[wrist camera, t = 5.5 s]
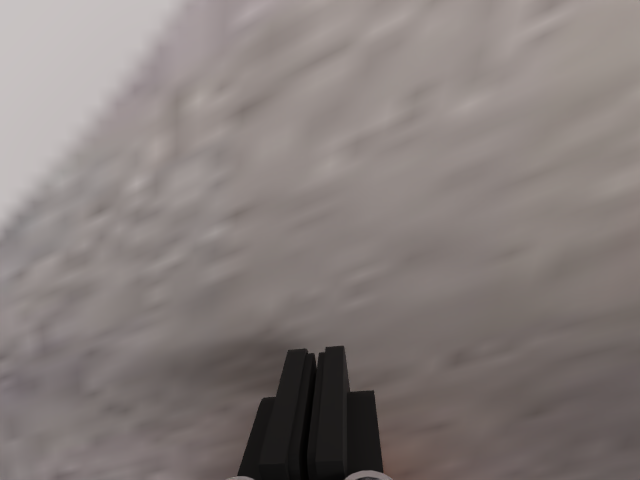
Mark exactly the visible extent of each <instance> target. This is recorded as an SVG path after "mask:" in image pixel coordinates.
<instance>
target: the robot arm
mask: <svg viewBox="0 0 640 480" xmlns="http://www.w3.org/2000/svg"><path fill="white" fill-rule="evenodd" d="M226 480H393V479H392V478H390V477H389V476H387V475H385V474H383V465H382V456H381V447H380V439H379V430H378V421H377V412H376V404H375V395H374V390H373V391H358V392H350V387H349V379H348V371H347V363H346V355H345V348H344V346H334V347H326V349H325V352H322V353H319V357H318V365H317V367H316V360H315V355H314V353H309V354H308V351H307V349H297V350H288V352H287V356H286V360H285V364H284V368H283V371H282V375H281V379H280V383H279V387H278V390H277V394H276V397H268V398H263V399H262V400H261V402H260V405H259V408H258V411H257V415H256V418H255V421H254V424H253V427H252V430H251V434H250V437H249V440H248V443H247V446H246V449H245V453H244V456H243V459H242V462H241V465H240V468H239V472H238V475H237V477H232V478H229V479H226Z"/></svg>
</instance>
